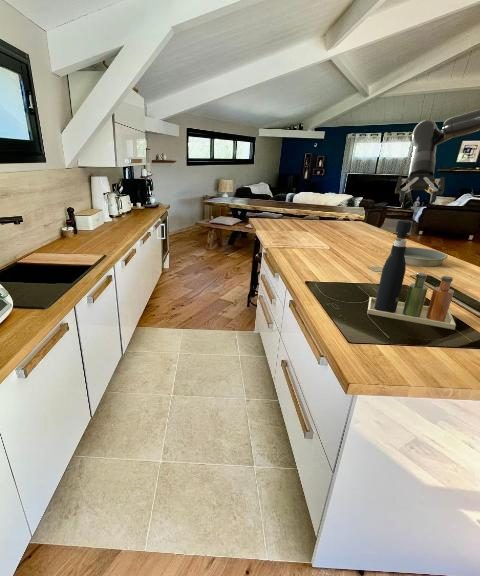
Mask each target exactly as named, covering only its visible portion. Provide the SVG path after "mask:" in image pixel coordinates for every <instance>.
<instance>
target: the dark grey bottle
mask: <svg viewBox="0 0 480 576" xmlns="http://www.w3.org/2000/svg"><path fill="white" fill-rule="evenodd" d="M412 225H413V222H412V221H411V220H397V222H396V226H395V232H396V233H397V234H396V237H395V239H394V241H393V244H392V245H391V249H392V250H391V252H390V254H389V256H388V257H387V258H386V260H385V261H384V264H383V266H382V270H381V274H380V279H379V284H378V288H377V293H376V297H375V298H376V302H375V307H374V308H375V309H376V310H378V311H384V312H389V313H395V312H396V308H397V304H398V302H399V300H400V295H401V292H402V287H403V283H404V279H405V275H406V269H407V267H406V265H407V264H406V262H405V256H404V254H405V250H406V247H407V246H406V244H407V240H406V239H407V235H408V234H410V233H411V229H412Z"/></svg>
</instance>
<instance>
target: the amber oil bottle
mask: <svg viewBox="0 0 480 576" xmlns="http://www.w3.org/2000/svg"><path fill="white" fill-rule="evenodd" d="M453 280H454V278H453V277H452V276H447V275H441V277H440V283H439V286H435V287H433V290H432V293H431V295H430V296H431V297H430V300H429V303H428V306H429V307H428V310H427V314H426V318H427V319H429V320H434V321H440V322H444V321H445V319H446V316H447V313H448V310H450V306H451V302H452V299H453V297H454V294H455V290H453V289H452V288H451V284H452V282H453Z"/></svg>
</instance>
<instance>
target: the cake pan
mask: <svg viewBox="0 0 480 576" xmlns="http://www.w3.org/2000/svg"><path fill="white" fill-rule="evenodd" d="M391 250H392V248H390V249H389V251H390V253H391ZM404 256H405V262H406V265H408V266H415V267H426V268H428V267H429V268H430V267H439V266H441V265H442V263H443V262H444V260H446V259H447V258H448V255H447V254H446V253H445V252H442V251H438V250H435V249H429V248H424V247H415V246H406V250H405V254H404Z"/></svg>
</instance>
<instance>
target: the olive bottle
mask: <svg viewBox="0 0 480 576" xmlns="http://www.w3.org/2000/svg"><path fill="white" fill-rule="evenodd" d="M427 277H428V275H427V274H426V273H422V272H417V273H415V280H414V283H409V285H408V288H407V291H406V296H405V299H404V303H405V304H404V308H403V312H402V313H403V314H404V315H406V316H412V317H420V315H421V312H422V308H423V306H425V305H424V304H425V301H426V297H427V293H428V289H429V287H428V286H427V285H425V282H426V279H427Z"/></svg>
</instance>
